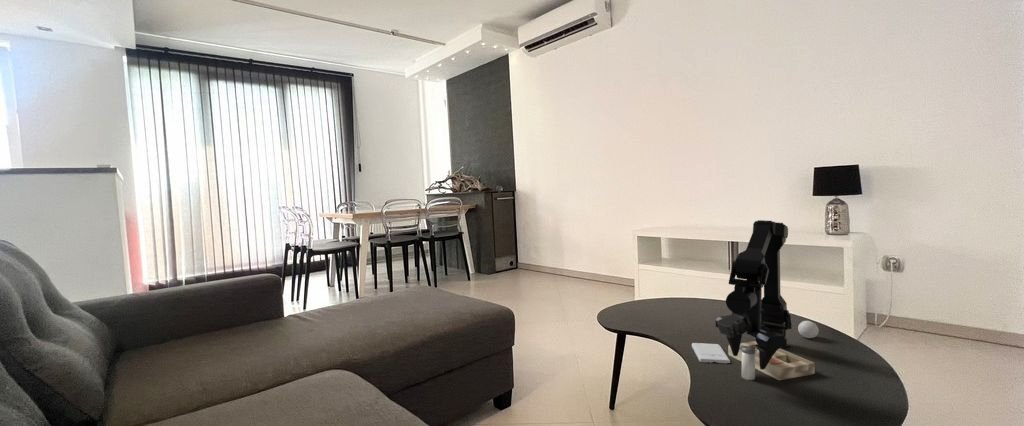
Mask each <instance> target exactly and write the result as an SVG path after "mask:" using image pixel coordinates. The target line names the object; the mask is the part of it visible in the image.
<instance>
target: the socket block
mask: <svg viewBox="0 0 1024 426" xmlns="http://www.w3.org/2000/svg"><path fill="white" fill-rule="evenodd" d="M755 345H758V344H757V342H756V340H755V341H748V342H741V343H740V348H739V352H738V355H737V356H733V353H732V350H731V347H730V344H728V350H727V352H728V355H727V356H729V357H731V358H734V359H735V360H737V361H739V362H741V363H742V346H750V347H754V348H755V370H758V371H759V372H761V373H763V374H765V375H768V376H770V377H771V378H774V379H775V380H777V381H782V380H788V379H794V378H799V377H804V376H805V377H806V376H812V375H814V374H816V371H815V370H816V362H813V361H811V360H808V359H806V358H803V357H801V356H799V355H797V354H794V353H792V352H790V351H787V350H785V349H783V348H780V349H778V350H777V351H776V352H775V354H774V355H773V356H772V358H771V359H770V361H769V363H768V364H767V366H766V368H765V369H763V370H761V369H760V363H759V350H758V349H757V347H756V346H755Z"/></svg>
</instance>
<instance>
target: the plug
mask: <svg viewBox="0 0 1024 426" xmlns="http://www.w3.org/2000/svg"><path fill="white" fill-rule="evenodd" d="M740 376H741V378H742V379H744V380H747V381H754V380H756V369H755V348H754V347H750V346H742V362H741V375H740Z"/></svg>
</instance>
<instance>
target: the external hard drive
mask: <svg viewBox="0 0 1024 426" xmlns="http://www.w3.org/2000/svg"><path fill="white" fill-rule="evenodd" d="M691 348H692V350H693V351H694V354H695V355H696V357H697V359H698V361H699V362H700V363H708V362H709V363H711V364H712V363H713V362H715V363H717V364H727V363H730V364H731V360H730V358H729V357H728V355H727V354H726V352H725V351H724V350H723V348H722V347H721V345H720V344H717V343H705V342H704V343H701V342H692V343H691ZM709 363H708V364H709ZM715 363H714V364H715Z"/></svg>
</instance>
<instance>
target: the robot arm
mask: <svg viewBox="0 0 1024 426" xmlns="http://www.w3.org/2000/svg"><path fill="white" fill-rule="evenodd" d="M752 225H753V226H752V233H751V236H750V238H749V241H748V244H747V247H746V249H745V250H743V251H742V252H740V253H738V255H737V256H736V258H735V260H733V262H732V264H731V265H732V266H731V269H730V274H729V278H728V285H732V286H734V290H733V291H731V292H730V293H728V295H727V296H726V298H725V304H726V307H727V309H728V310H729V311H730V312H732V313H731V314H729V315H721V316H717V318H716V319H715V327H716V328H718V330H719V333H720V334H722V335H724V336H725V337H726V339H727V341H728V342H727V343H728V345H730V347H731V350H732V353H733V356H737V355H738V352H739V348H740V343H742V337H743V335H744V334H747V335H749V336H751V337H753V338H755V341H756V342H757V344H758V345H755V346H756V347H757V349H758V350H759V363H760V369H761V370H763V369H765V368H766V366H767V364H768V363H769V361H770V359H771V358H772V356H773V355H774V354H775V352H776V351H777V350H778V349H783V348H789V347H790V346H791V345H790V344H789V343H788V338H787V336H786V334H787V332H786V331H788V330H791V329H792V327H793V322H792V321H793V320H792V315H791V314H790V311H789V310H788V309H787V308H788V307H787V302H786V301H785V299H784V297H783V296H782V295H781V249H782V248H783V246H784V245H785V243H786V241H787V239H788V236H789V235H788V234H789V228H788V227H789V226H787V225H786V224H785V223H783V222H776V221H773V220H761V219H758V220H754V222H753V223H752ZM762 290H763V291H762ZM762 292H763V297H762Z"/></svg>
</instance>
